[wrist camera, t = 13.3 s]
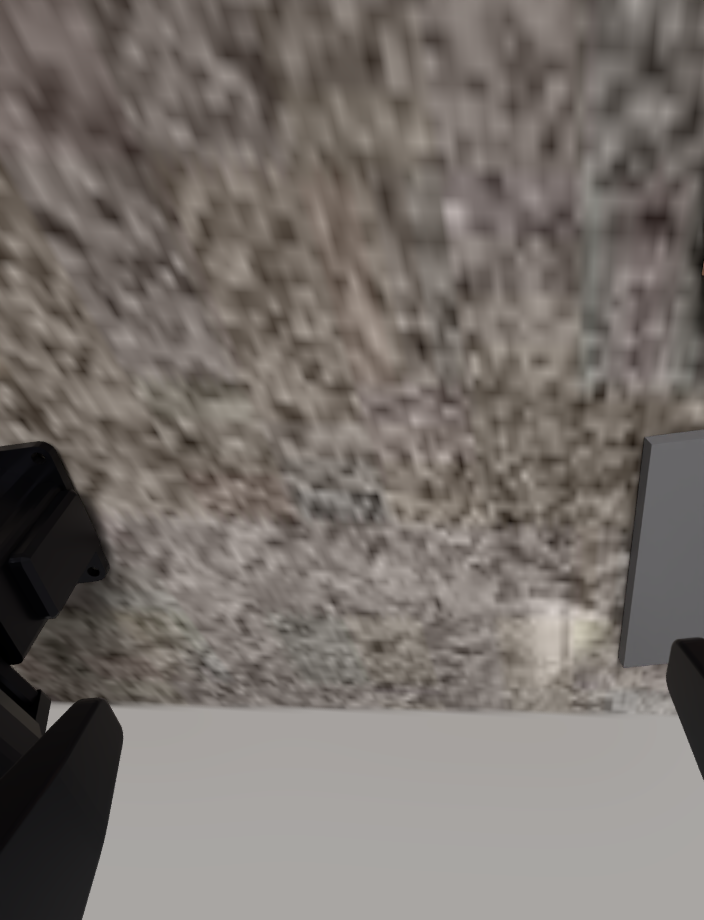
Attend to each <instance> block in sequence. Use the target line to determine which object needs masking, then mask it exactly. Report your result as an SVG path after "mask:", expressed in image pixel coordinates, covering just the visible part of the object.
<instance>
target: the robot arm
mask: <svg viewBox="0 0 704 920" xmlns="http://www.w3.org/2000/svg"><path fill="white" fill-rule="evenodd" d="M36 452H37V453H41V454H43V456H44V457H45V459H42V458H40V457H39V456H38V455H37V453H36ZM92 567H95V568H97V569H98V570H95V569H93V568H92ZM108 570H109V564H108V562H107V560H106V558H105V556H104V553H103V551H102V549H101V547H100V540H99V538H98V536H97V534H96V532H95V530H94V528H93V525H92V523H91V521H90V519H89V517H88V515H87V512H86V510H85V508H84V506H83V504H82V502H81V499H80V497H79V495H78V494H77V493H76V492H75V491H74V489H73V487H72V485H71V482H70V480H69V478H68V476H67V474H66V472H65V470H64V467H63V465H62V463H61V461H60V459H59V457H58V454H57V452H56V451H55V449H54V448H53V447H52V446H51V445H50V444H48V443H45V442H40V441H37V442H30V443H22V444H15V445H8V446H0V920H82V918H83V914H84V911H85V907H86V904H87V900H88V896H89V893H90V890H91V886H92V882H93V879H94V876H95V872H96V869H97V865H98V862H99V858H100V855H101V851H102V847H103V843H104V839H105V835H106V829H107V825H108V820H109V814H110V809H111V804H112V798H113V793H114V787H115V782H116V777H117V771H118V766H119V761H120V755H121V750H122V744H123V731H122V727H121V725H120V723H119V721H118V720H117V718H116V716H115V714H114V712H113V710H112V709H111V707H110V705H109V703H108V702H107V700H106V699H104V698H101V697H98V698H88V699H81V700H79V701H77V702H76V703H74V704H73V705H72V706H71V707H70V708H69V709H68V710H67V711H66V712H65V713H64V714H63V715H62V716H61V717H60V719H58V720H57V721H56V722H55V723H54V724H53V725H52V726H51V727H50V728H49V730H48V731H47V732H46V733H45V731H46V726H47V721H48V715H49V710H50V704H51V699H50V698H49V697H48V696H47V695H46V694H45V693H44V692H43V691H41V690H40V689H39V690H36V689H35V688H34V687H32V686H31V685H30V684H29V683H28V682H27V681H26V680H25V679H24V678H23V677H22V676H21V675H20V674H19V673H18V672H17V671H15V670H14V669H13V668H12V667H11V666H10V665H14V664H19V663H22V661H23V660H24V658H25V656H26V655H27V653H28V651H29V650H30V648H31V646H32V645H33V643H34V641H35V640H36V638H37V636H38V635H39V633H40V631H41V630H42V628H43V626H44V625H45V623H46V621H47V620H48V619H53V618H56V617H57V616H58V614H59V613H60V611H61V610H62V608H63V606H64V605H65V603H66V601H67V599H68V598H69V596H70V594H71V593H72V591H73V589H74V588H75V586H76V584H77V583H85V582H93V581H99V580H102V579H103V578H105V576H106V574H107V572H108ZM666 682H667V687H668V690H669V693H670V696H671V698H672V701H673V703H674V706H675V708H676V711H677V713H678V716H679V719H680V721H681V724H682V726H683V729H684V731H685V734H686V736H687V739H688V742H689V744H690V747H691V749H692V752H693V754H694V757H695V759H696V762H697V765H698V767H699V770H700V772H701V775H702V777H703V780H704V638H701V637H692V638H683V639H676V640H675V641H674V642H673V643H672V646H671V650H670V656H669V661H668V667H667V672H666Z"/></svg>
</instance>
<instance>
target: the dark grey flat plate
mask: <svg viewBox="0 0 704 920" xmlns="http://www.w3.org/2000/svg"><path fill="white" fill-rule="evenodd" d="M692 637H701V638H704V430H696V431H688V432H680V433H672V434H665V435H657V436H649V437H645V439H644V447H643V455H642V464H641V472H640V481H639V489H638V497H637V506H636V514H635V523H634V531H633V539H632V548H631V556H630V565H629V573H628V581H627V590H626V598H625V606H624V615H623V623H622V632H621V640H620V648H619V657H618V658H619V660H620V662H621V664H622V666H623V668H627V667H637V666H647V665H657V664H667V663H668V661H669V656H670V650H671V646H672V643H673V642H674V641H675V640H676V639H683V638H692Z"/></svg>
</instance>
